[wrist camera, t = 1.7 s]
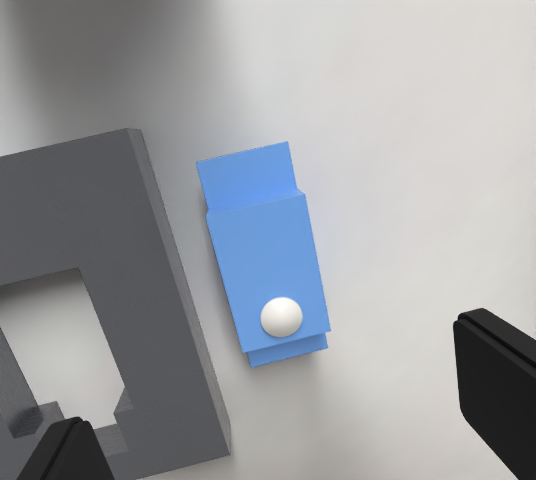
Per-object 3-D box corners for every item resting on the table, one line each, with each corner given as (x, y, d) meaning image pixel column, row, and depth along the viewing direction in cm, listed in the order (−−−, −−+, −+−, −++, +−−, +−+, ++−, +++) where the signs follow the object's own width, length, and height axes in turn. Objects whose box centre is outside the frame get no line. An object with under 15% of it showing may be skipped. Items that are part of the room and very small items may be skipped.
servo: (278, 141, 21) (296, 141, 15) (314, 318, 24) (339, 373, 18) (201, 158, 21) (190, 166, 15) (248, 335, 24) (253, 395, 18)
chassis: (140, 130, 20) (127, 128, 17) (230, 422, 25) (230, 455, 23) (-159, 197, 19) (-220, 206, 17) (0, 481, 25) (-26, 521, 22)
